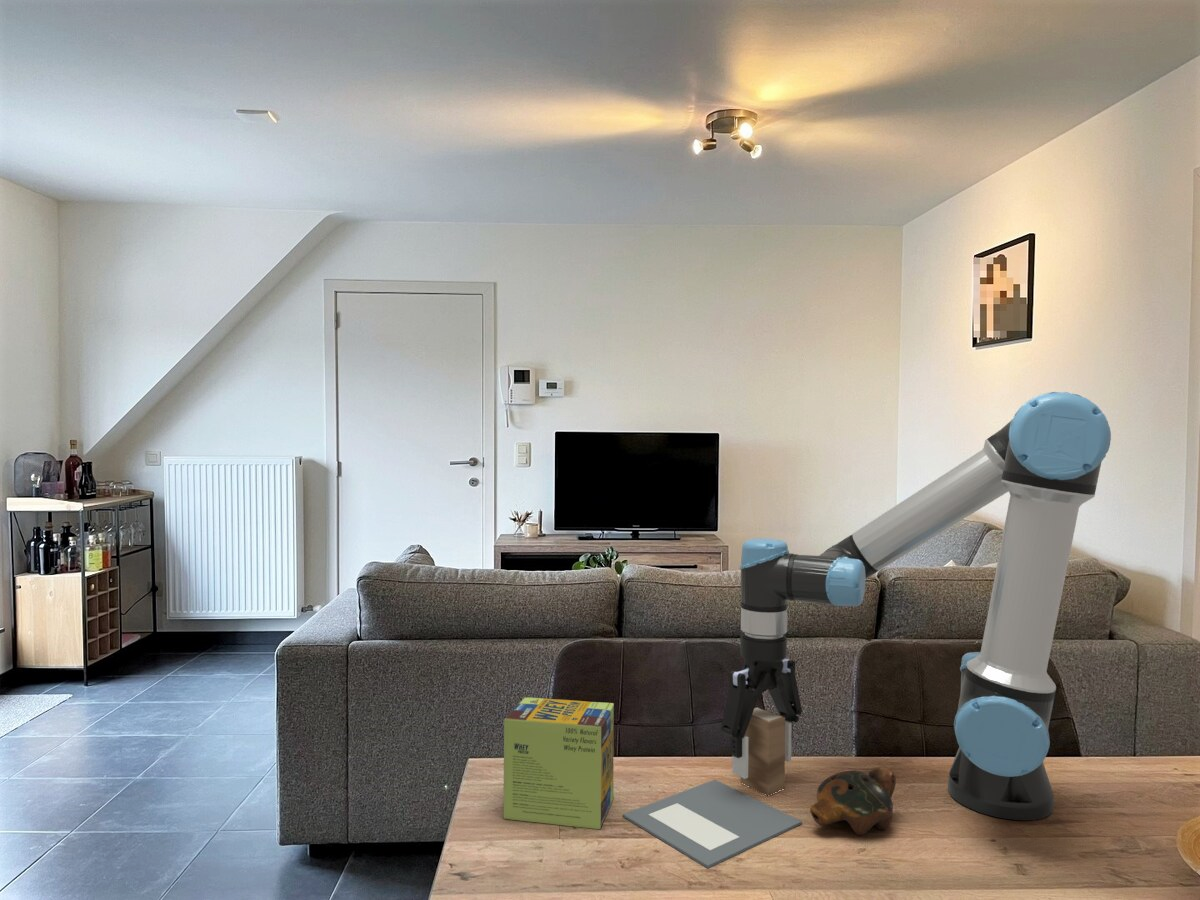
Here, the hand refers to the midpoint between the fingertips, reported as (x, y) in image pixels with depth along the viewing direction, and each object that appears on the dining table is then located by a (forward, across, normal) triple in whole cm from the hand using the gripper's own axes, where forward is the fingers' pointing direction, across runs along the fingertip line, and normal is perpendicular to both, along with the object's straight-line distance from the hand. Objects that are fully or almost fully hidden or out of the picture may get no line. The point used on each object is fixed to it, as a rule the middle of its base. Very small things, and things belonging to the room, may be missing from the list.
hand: (762, 766), depth 131 cm
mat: (+3, +15, +3) cm, 16 cm away
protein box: (+4, +31, -14) cm, 34 cm away
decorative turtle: (+4, -1, +17) cm, 17 cm away
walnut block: (+3, 0, 0) cm, 3 cm away
